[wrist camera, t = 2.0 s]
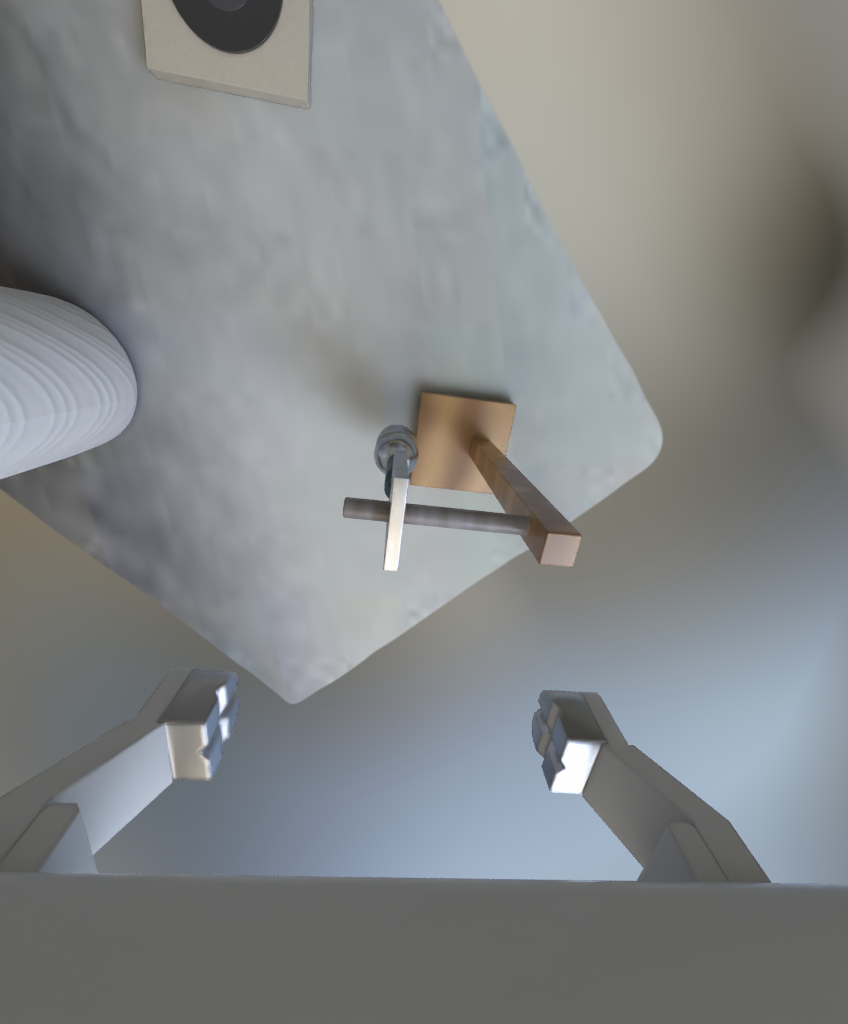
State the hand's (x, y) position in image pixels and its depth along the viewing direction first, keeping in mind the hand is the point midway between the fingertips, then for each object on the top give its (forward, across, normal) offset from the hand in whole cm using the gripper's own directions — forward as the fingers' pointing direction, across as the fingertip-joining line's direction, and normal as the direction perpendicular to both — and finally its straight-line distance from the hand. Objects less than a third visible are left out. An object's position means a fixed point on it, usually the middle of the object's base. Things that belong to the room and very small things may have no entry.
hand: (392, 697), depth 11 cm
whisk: (+33, 0, 0) cm, 33 cm away
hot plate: (+36, +16, -32) cm, 50 cm away
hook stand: (+36, -4, 0) cm, 36 cm away
